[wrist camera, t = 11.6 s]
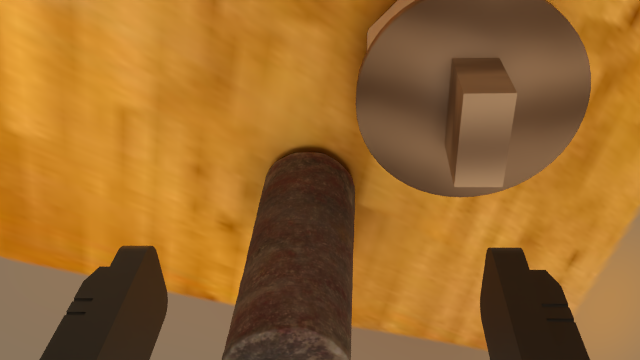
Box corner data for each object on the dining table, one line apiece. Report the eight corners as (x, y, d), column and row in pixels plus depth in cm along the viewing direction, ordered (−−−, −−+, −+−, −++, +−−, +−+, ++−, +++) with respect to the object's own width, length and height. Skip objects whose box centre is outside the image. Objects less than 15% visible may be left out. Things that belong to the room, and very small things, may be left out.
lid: (355, -16, 35) (353, 17, 30) (608, -22, 34) (652, 12, 29) (356, 187, 43) (355, 241, 38) (561, 187, 42) (589, 244, 37)
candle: (296, 125, 46) (258, 316, 29) (374, 170, 48) (380, 374, 31) (250, 192, 50) (192, 395, 33) (324, 231, 52) (305, 443, 35)
